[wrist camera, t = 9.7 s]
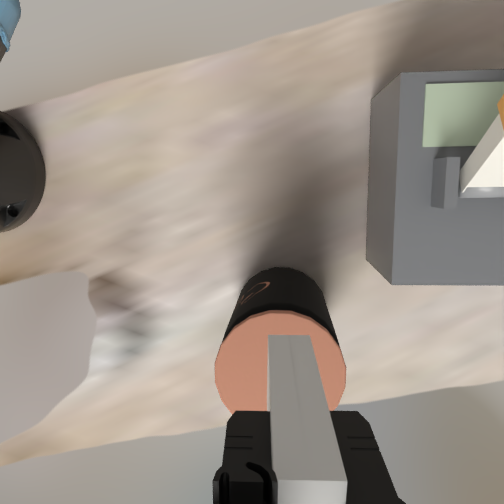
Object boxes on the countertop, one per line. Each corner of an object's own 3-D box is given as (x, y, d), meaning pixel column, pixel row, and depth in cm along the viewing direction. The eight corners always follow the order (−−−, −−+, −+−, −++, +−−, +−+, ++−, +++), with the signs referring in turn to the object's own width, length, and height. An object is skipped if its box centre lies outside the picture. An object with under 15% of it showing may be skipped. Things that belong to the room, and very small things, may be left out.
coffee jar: (262, 249, 50) (250, 288, 32) (341, 290, 50) (372, 351, 32) (223, 323, 52) (191, 399, 34) (299, 362, 52) (306, 457, 34)
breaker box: (365, 259, 49) (400, 294, 34) (370, 100, 46) (411, 62, 31) (489, 259, 48) (580, 295, 33) (502, 95, 45) (610, 55, 30)
